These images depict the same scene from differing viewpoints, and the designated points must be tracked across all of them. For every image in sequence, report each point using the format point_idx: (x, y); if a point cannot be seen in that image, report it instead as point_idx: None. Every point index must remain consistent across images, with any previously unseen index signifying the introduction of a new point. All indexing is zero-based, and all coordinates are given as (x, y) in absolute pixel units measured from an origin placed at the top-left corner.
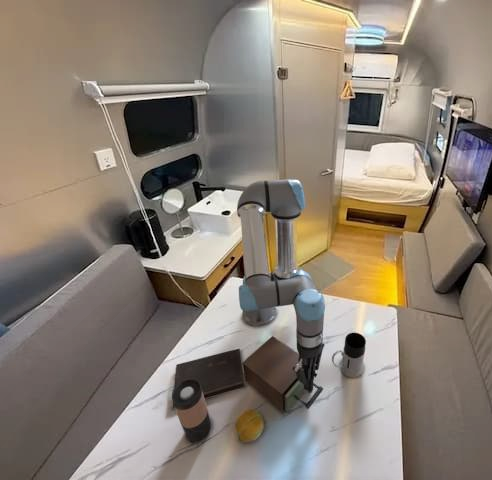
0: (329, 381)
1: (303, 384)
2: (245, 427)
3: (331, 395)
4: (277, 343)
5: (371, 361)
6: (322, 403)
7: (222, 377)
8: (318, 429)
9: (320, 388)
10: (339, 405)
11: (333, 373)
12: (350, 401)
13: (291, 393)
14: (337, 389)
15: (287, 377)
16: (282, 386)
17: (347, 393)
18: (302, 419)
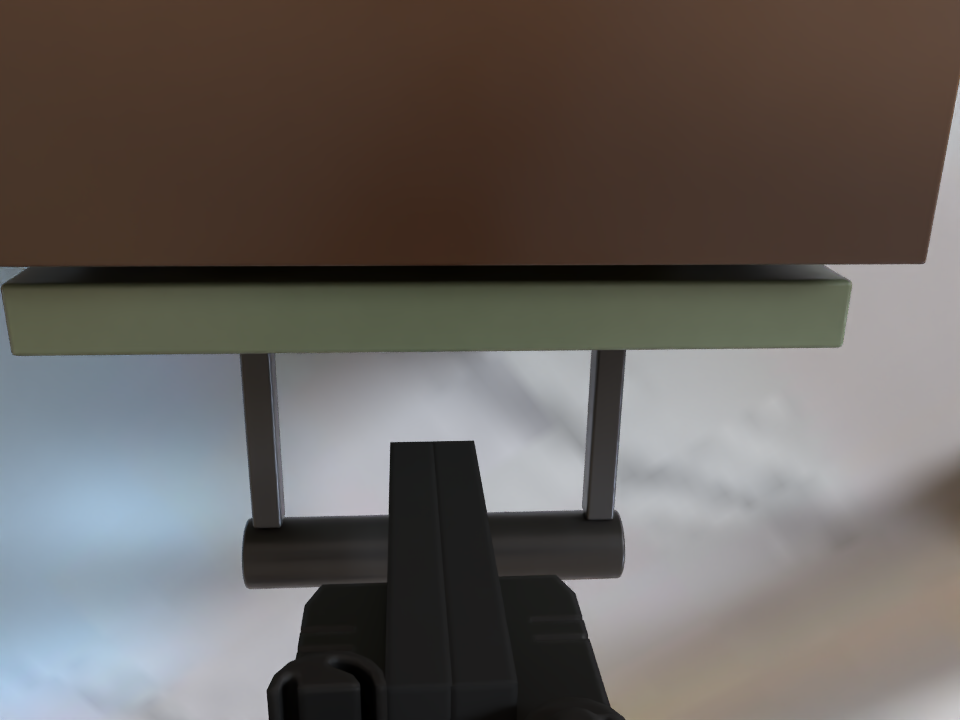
0: (824, 384)
1: (304, 618)
2: None
3: (677, 497)
4: None
5: None
6: (536, 472)
7: None
8: (281, 591)
9: (593, 566)
10: (626, 617)
11: (950, 362)
12: (728, 675)
13: (139, 353)
14: (779, 510)
15: (292, 91)
16: (48, 151)
17: (792, 612)
18: (241, 406)
